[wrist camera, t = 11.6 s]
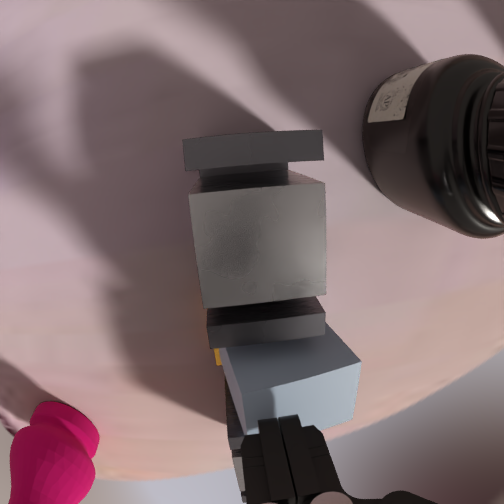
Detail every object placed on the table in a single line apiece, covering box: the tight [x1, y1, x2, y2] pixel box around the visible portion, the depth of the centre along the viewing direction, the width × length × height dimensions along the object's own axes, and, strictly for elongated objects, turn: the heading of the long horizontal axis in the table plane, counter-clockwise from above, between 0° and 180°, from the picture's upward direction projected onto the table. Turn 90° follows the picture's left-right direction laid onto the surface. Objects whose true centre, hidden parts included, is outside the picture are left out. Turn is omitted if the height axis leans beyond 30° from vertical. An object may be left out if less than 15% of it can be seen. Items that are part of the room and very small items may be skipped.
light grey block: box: [219, 322, 362, 435], centre depth 15 cm, size 4×5×7 cm
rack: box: [183, 130, 326, 503], centre depth 16 cm, size 20×5×7 cm, turn 4°
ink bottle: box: [363, 54, 504, 239], centre depth 11 cm, size 10×9×12 cm
